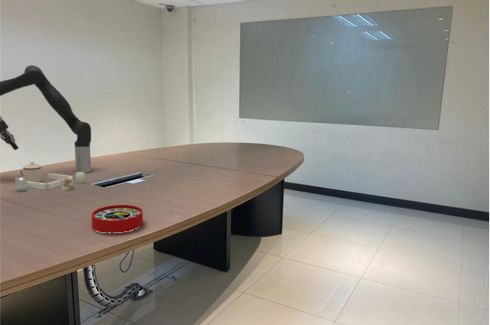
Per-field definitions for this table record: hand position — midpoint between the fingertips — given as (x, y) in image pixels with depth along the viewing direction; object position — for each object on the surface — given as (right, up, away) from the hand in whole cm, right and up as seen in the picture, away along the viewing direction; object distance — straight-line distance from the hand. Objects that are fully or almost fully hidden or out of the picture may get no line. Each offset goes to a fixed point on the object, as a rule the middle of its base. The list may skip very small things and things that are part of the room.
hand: (16, 149), depth 206 cm
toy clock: (+78, -34, -56) cm, 101 cm away
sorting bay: (+17, -20, +2) cm, 26 cm away
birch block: (+33, -23, -8) cm, 41 cm away
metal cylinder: (+12, -23, -14) cm, 29 cm away
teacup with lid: (+5, -19, +5) cm, 20 cm away
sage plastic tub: (+33, -20, +7) cm, 39 cm away
